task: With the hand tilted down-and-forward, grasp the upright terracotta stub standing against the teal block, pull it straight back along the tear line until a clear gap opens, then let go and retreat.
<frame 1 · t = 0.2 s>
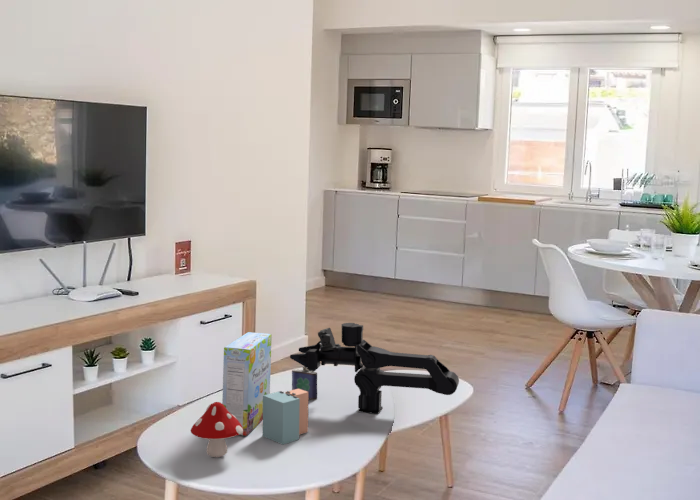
hand: (294, 352, 263), 17 cm above the table, tool horizontal, fingers open, 9 cm apart
decorative mushroom: (216, 456, 219), on the table
snack box: (247, 424, 244), on the table
stub: (296, 411, 236), point 6 cm above the table, slide at 0.0 cm
teal block: (280, 437, 233), on the table
flask: (304, 397, 271), on the table
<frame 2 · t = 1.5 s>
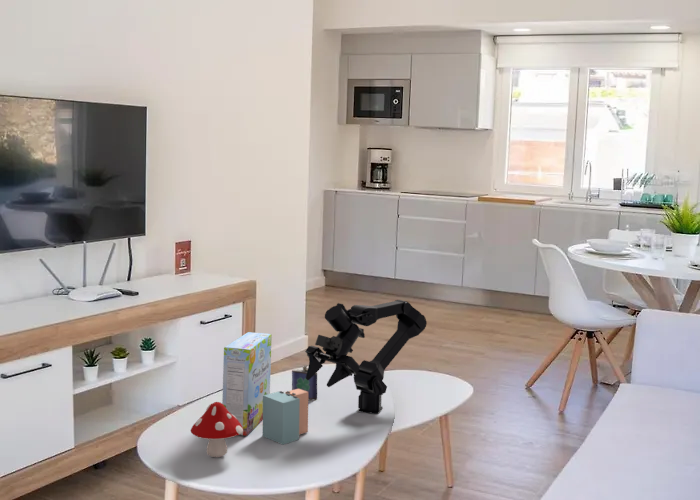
hand: (317, 382, 241), 13 cm above the table, tool tilted 45°, fingers open, 9 cm apart
nothing on the table moved.
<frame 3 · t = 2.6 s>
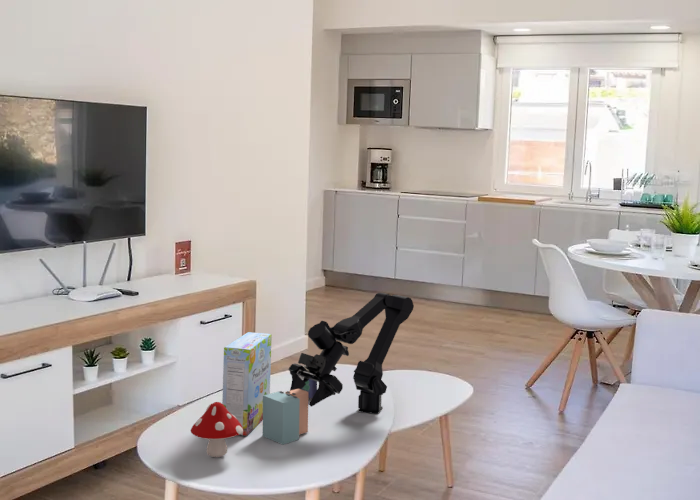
hand: (299, 401, 237), 9 cm above the table, tool tilted 45°, fingers open, 9 cm apart
nothing on the table moved.
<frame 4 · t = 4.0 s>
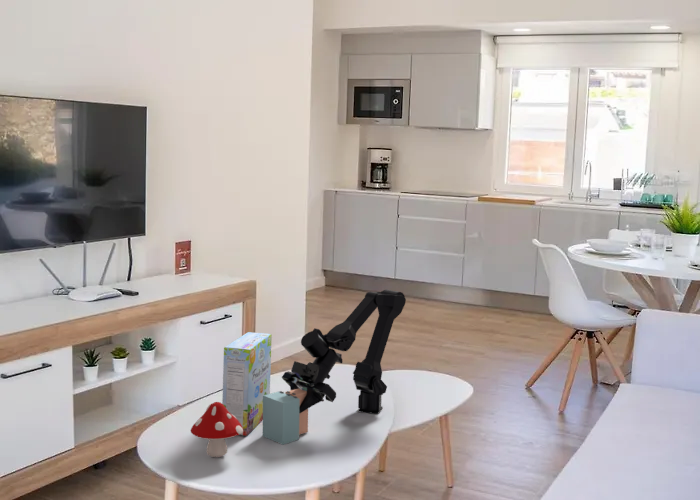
hand: (293, 410, 235), 7 cm above the table, tool tilted 45°, fingers closed on stub, 4 cm apart
stub: (296, 411, 236), point 6 cm above the table, slide at 0.0 cm, touching gripper
everything else where it was.
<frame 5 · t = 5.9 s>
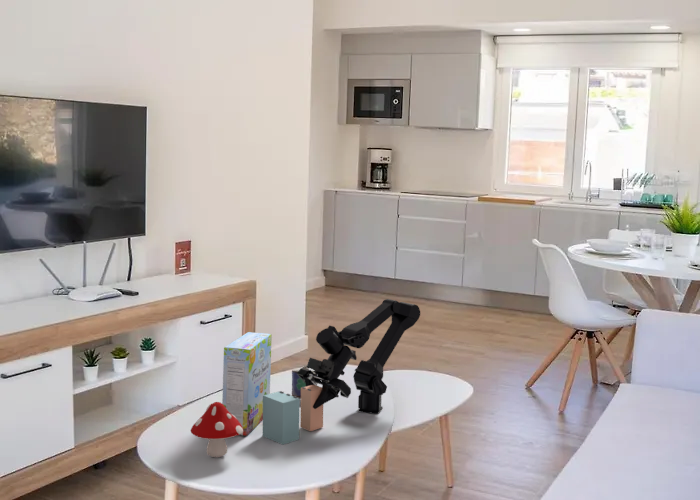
hand: (308, 406, 240), 7 cm above the table, tool tilted 45°, fingers closed on stub, 4 cm apart
stub: (311, 407, 241), point 6 cm above the table, slide at 6.0 cm, touching gripper
everything else where it was.
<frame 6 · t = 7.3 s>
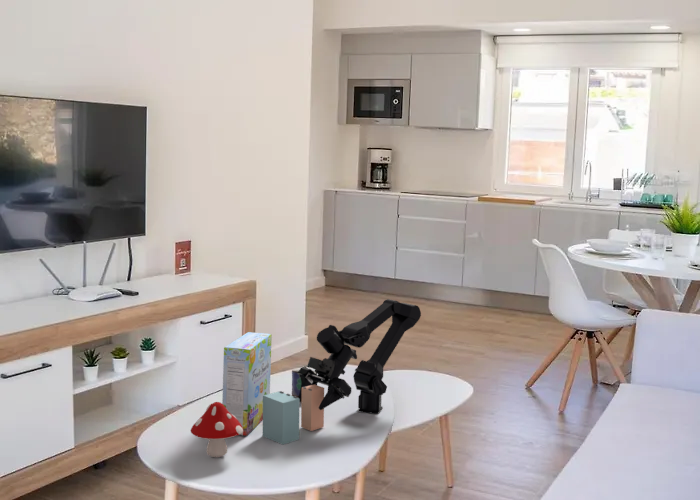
hand: (309, 405, 240), 7 cm above the table, tool tilted 45°, fingers open, 9 cm apart
stub: (312, 407, 241), point 6 cm above the table, slide at 6.2 cm
everything else where it was.
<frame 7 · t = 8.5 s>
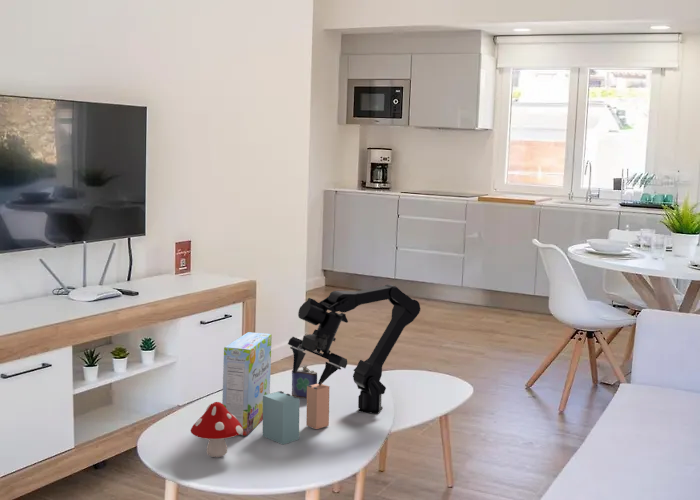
hand: (306, 378, 245), 13 cm above the table, tool tilted 25°, fingers open, 9 cm apart
stub: (317, 405, 242), point 6 cm above the table, slide at 8.4 cm, touching gripper
everything else where it was.
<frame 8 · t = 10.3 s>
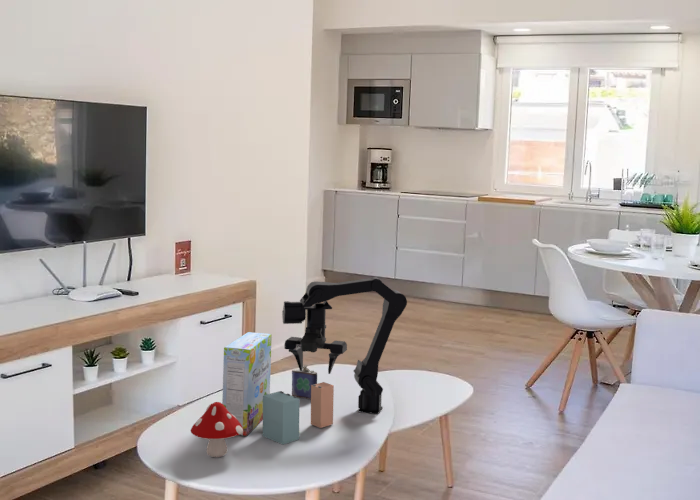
hand: (315, 372, 254), 13 cm above the table, tool pointing down, fingers open, 9 cm apart
stub: (322, 404, 243), point 6 cm above the table, slide at 10.0 cm
everything else where it was.
at the end: stub slide at 10.0 cm; the gripper is holding nothing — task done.
